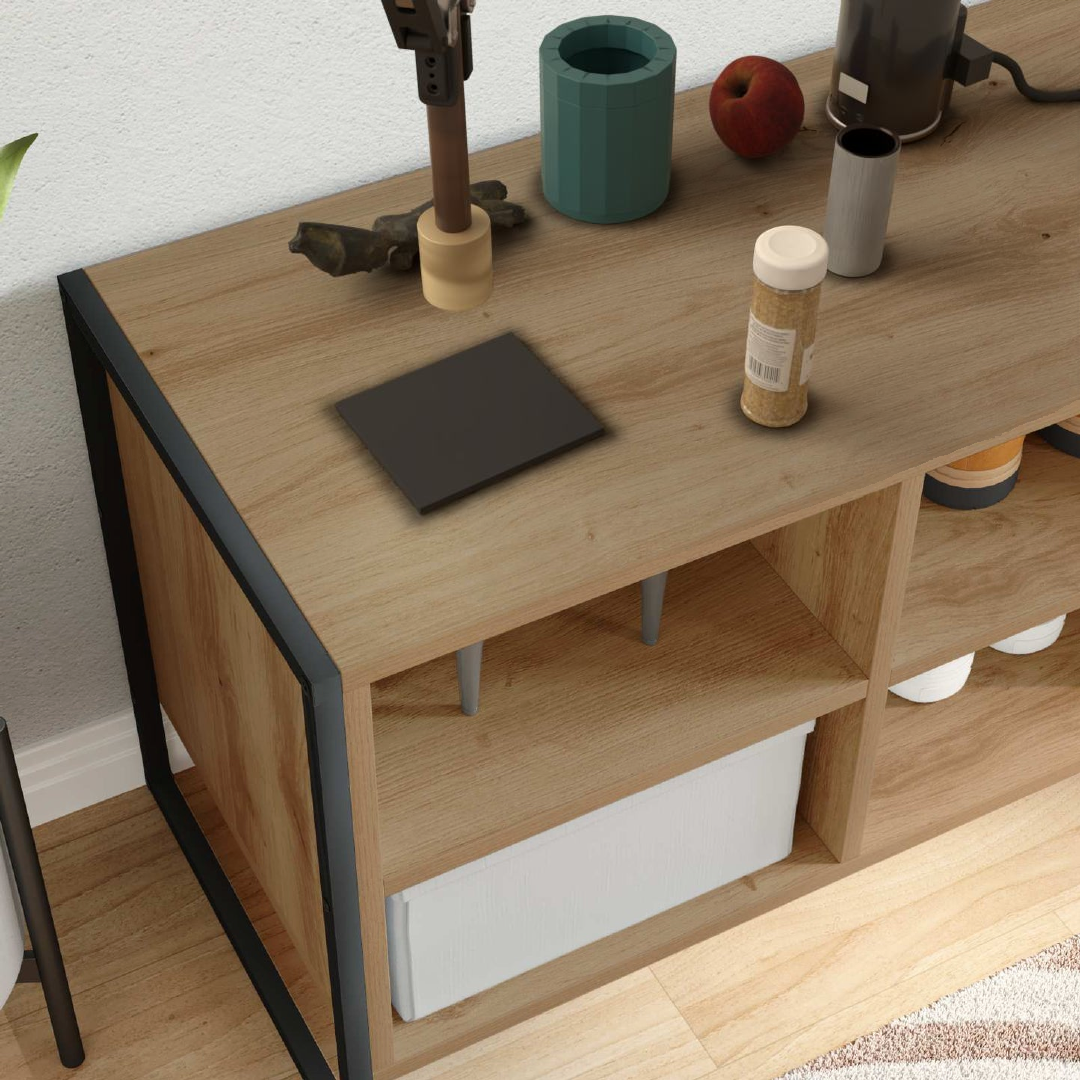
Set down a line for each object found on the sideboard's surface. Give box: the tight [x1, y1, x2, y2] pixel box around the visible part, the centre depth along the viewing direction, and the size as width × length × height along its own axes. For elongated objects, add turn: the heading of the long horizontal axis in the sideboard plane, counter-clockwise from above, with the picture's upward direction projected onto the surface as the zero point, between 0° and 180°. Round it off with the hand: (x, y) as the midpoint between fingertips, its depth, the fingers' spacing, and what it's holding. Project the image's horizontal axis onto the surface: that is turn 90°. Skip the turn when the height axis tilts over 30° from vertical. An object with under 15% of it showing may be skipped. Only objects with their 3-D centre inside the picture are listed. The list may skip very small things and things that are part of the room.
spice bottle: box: [740, 224, 829, 428], centre depth 102 cm, size 5×5×13 cm
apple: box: [708, 54, 806, 159], centre depth 125 cm, size 7×8×8 cm
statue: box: [287, 179, 527, 278], centre depth 117 cm, size 6×6×20 cm
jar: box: [538, 14, 678, 225], centre depth 120 cm, size 10×10×12 cm
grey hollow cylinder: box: [821, 123, 902, 278], centre depth 114 cm, size 4×4×10 cm
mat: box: [334, 331, 605, 516], centre depth 106 cm, size 14×12×1 cm
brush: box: [417, 3, 495, 312], centre depth 91 cm, size 4×4×19 cm
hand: (446, 88), depth 88 cm, fingers closed on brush, 2 cm apart
